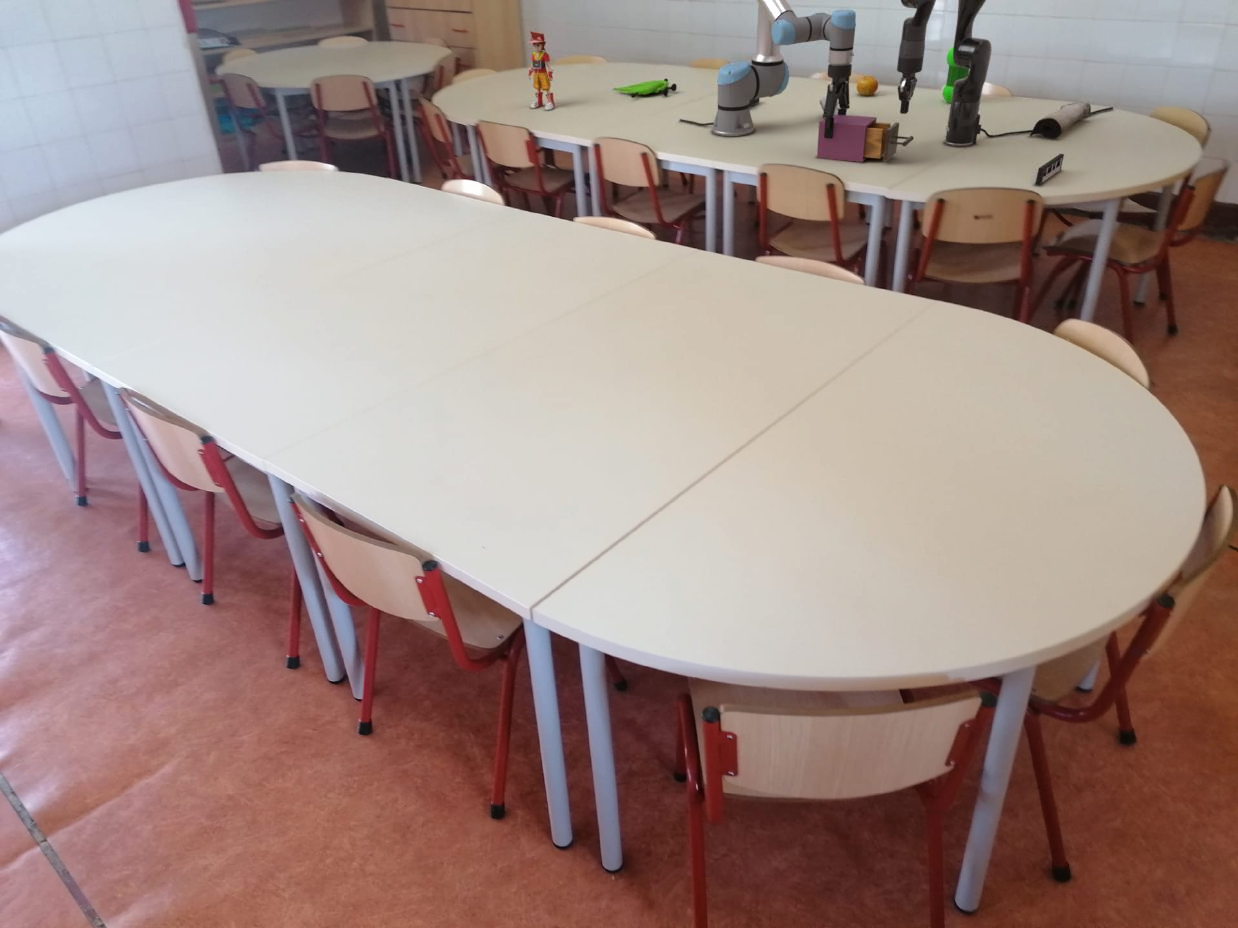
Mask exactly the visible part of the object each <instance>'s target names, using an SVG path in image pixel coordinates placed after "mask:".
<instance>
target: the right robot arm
mask: <svg viewBox="0 0 1238 928" xmlns="http://www.w3.org/2000/svg"><path fill="white" fill-rule="evenodd" d="M936 2H937V0H900V3H901V5H902V6H903V7H905V8H907V9H915V12H914V15H913V16H911V17H910V16H909V17H907V18H905V19H904V20H903V24H902V29H901V30H902V32H901V39H900V44H899V50H898V58H897V66H896V71H897V72H898V73H902V75H901V78H900V79H899V85H898V86H897V93H898V100H899V101H900V109H899V110H900V111H899V114H901V115H907V114H908V113H909V108H910V101H911V100H912V98H913V96H914V92H915V89H916V86H917V82H918V78H917V77H916V74H917V73H920V72H922V71H923V64H924V56H925V49H926V35H927V26H928V23H929V21H930V18H931V15H932V12H933V9H934V7H935V5H936ZM986 2H987V0H958V3H957V5H958V6H957V15H956V26H955V27H956V28H955V35H954V41H953V46H954V47H953V46H952V47H953V62H954V64H955V65H956V66H957V67H961V68H967V69H969V74H968V76H967V77H966V78H963V79H959V80H957V81H955V83H954V86H953V93H952V100H951V103H950V108H949V113H948V119H947V125H946V127H945V131H946V133H945V139H944V144H945V145H947V146H951V147H970V146H972V145H976V144H977V139H978V135H981V132H982V133H984V134H985V136H986V137H988V138H998V137H1004V136H1009V135H1018V134H1028V133H1029V134H1030V133H1031V132H1032V130H1033V129H1029V130H1020V131H1019V130H1018V131H1010V132H1004V133H999V134H989V133H988V132H987V130H986V129H984V128H983V127H982V124H980V120H981V114H979V111H980V105H981V100H982V93H983V88H984V84H985V83H986V79H987V75H988V71H989V66H990V63H991V58H992V49H993V48H992V47H993V46H992V42H991V41H990V40H989V39H986V38H980V37H979V38H978V37H973V29H974V28H973V27H974V23H975V19H976V17H977V15H978V14H979V12H980V11H981V9H982V8H983V6H984V5H985V3H986ZM1113 109H1114V106H1111V107H1106V108H1101V109H1098V110H1094V111H1091V115H1094V114H1098V113H1101V112H1106V111H1111V110H1113ZM1079 120H1080V119H1078V120H1077V121H1079Z"/></svg>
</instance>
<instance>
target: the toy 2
mask: <svg viewBox="0 0 1238 928" xmlns="http://www.w3.org/2000/svg"><path fill="white" fill-rule="evenodd" d="M669 85H670V83H669V79H668V78H664V79H663V80H649V81H644V82H640V83H634V84H629V85H627V86H621V87H613V88H612V89H613V90H616V91H619V92H623V93H627V94H628V93H629V94H631V95H630V96H631V98H632V99H634V98H636V96H637V95H650V94H652V93H654V94H658V93H662V95H663V96H665V97H667V96H668V95H669V90H671V91H672V92H676V91H677V84H676V83H672V84H671V86H669Z"/></svg>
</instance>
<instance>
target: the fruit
mask: <svg viewBox="0 0 1238 928" xmlns="http://www.w3.org/2000/svg"><path fill="white" fill-rule="evenodd" d="M878 89H879V82H878V80H877V78H875V77H873V76H870V75H868V76H862V77H860V79H859V80H858V81H857V83H856V91H857V93H858V94H859V95H861V96H871V95H872V96H873V95H874V94H875V93H876V92H877V91H878Z"/></svg>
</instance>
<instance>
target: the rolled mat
mask: <svg viewBox="0 0 1238 928" xmlns="http://www.w3.org/2000/svg"><path fill="white" fill-rule="evenodd" d="M1091 112H1092V105H1091V104H1090V103H1089V102H1082V101H1080V102H1079V101H1078V102H1073V103H1072V102H1071V103H1065V104H1063V105H1061V106H1060V108H1059V109H1058V110H1056V111H1053V112H1052V113H1050V114H1048V115H1046V116H1044V117H1042V118H1040V119H1039V120H1037V121H1036V123H1035V125H1034V126H1033V128H1032V129H1031V130H1032V132H1029V137H1032V136H1034V135H1041V136H1042V137H1043V138H1046V139H1051V140H1055V139H1056V140H1057V139H1058V138H1059V137H1060V136H1061V135H1063V134H1064V133H1065V132H1066V131H1067V129H1068V128H1070V127H1071V126H1073V124H1075V123H1076V122H1077V121H1079V120H1084V119H1085V120H1086V119H1087V118H1090V117H1091V116H1092V114H1091ZM1078 119H1079V120H1078Z"/></svg>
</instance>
